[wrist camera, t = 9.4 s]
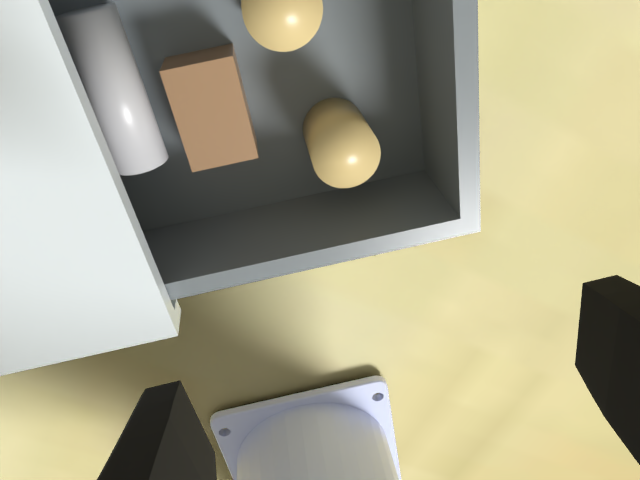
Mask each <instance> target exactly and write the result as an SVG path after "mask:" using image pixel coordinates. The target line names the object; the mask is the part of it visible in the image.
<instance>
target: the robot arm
mask: <svg viewBox="0 0 640 480" xmlns="http://www.w3.org/2000/svg"><path fill="white" fill-rule="evenodd" d="M575 366H576V368H577V369H578V371H579V373H580V375H581V377H582V379H583V380H584V382H585V384H586V386H587V388H588V390H589V391H590V393H591V395H592V397H593V398H594V400H595V402H596V403H597V405H598V407H599V408H600V410H601V412H602V414H603V415H604V417H605V418H606V420H607V421H608V422H609V424H610V425H611V427H612V428H613V429H614V431H615V432H616V434H617V435H618V436H619V438H620V439H621V440H622V442H623V443H624V444H625V446H626V447H627V448H628V450H629V451H630V453H631V454H632V455H633V457H634V458H635V459H636V461H637V462H638V463H639V465H640V286H638V285H636V284H634V283H632V282H630V281H628V280H626V279H624V278H622V277H620V276H618V275H615V276H610V277H606V278H602V279H598V280H594V281H590V282H586V283H583V287H582V298H581V308H580V319H579V329H578V339H577V350H576V360H575ZM376 393H379V394H376ZM210 427H211V429H212V431H213V434H214V436H215V438H216V441H217V443H218V445H219V448H220V450H221V453H222V455H223V457H224V460H225V462H226V464H227V467H228V469H229V471H230V474H231V476H232V478H233V480H401V474H400V468H399V461H398V454H397V447H396V441H395V434H394V427H393V420H392V414H391V407H390V400H389V393H388V387H387V383H386V380H385V378H383V377H382V376H378V375H377V376H370V377H366V378H362V379H357V380H353V381H349V382H344V383H340V384H335V385H331V386H327V387H322V388H318V389H314V390H309V391H305V392H300V393H296V394H292V395H287V396H283V397H279V398H274V399H270V400H266V401H261V402H257V403H252V404H248V405H244V406H239V407H235V408H231V409H226V410H222V411H218V412H216V413H214V414H213V415H212V416H211V418H210ZM223 428H227V429H223ZM97 480H217V478H216V462H215V452H214V450H213V448H212V446H211V444H210V442H209V440H208V437H207V435H206V433H205V431H204V429H203V427H202V425H201V423H200V421H199V419H198V417H197V415H196V412H195V410H194V408H193V406H192V404H191V402H190V400H189V398H188V396H187V394H186V392H185V390H184V387H183V385H182V383H181V381H176V382H172V383H168V384H164V385H160V386H155V387H151V388H147V389H145V391H144V392H143V394H142V395H141V397H140V399H139V401H138V403H137V405H136V407H135V409H134V411H133V413H132V415H131V417H130V419H129V420H128V422H127V424H126V426H125V428H124V430H123V432H122V434H121V436H120V438H119V440H118V442H117V444H116V445H115V447H114V449H113V451H112V453H111V455H110V457H109V459H108V461H107V462H106V464H105V466H104V468H103V470H102V472H101V473H100V475H99V477H98V479H97Z"/></svg>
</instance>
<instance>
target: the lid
mask: <svg viewBox="0 0 640 480" xmlns="http://www.w3.org/2000/svg"><path fill="white" fill-rule="evenodd" d="M180 316H181V308H180V306H179V303H178V301H177V299H175V300H170V298H169V295H168V293H167V290H166V288H165V285H164V283H163V281H162V278H161V276H160V273H159V271H158V268H157V266H156V263H155V261H154V258H153V256H152V254H151V251H150V249H149V246H148V244H147V241H146V239H145V236H144V234H143V231H142V229H141V227H140V224H139V222H138V219H137V217H136V214H135V212H134V209H133V207H132V204H131V202H130V200H129V197H128V195H127V192H126V190H125V187H124V185H123V182H122V180H121V178H120V175H119V173H118V170H117V168H116V165H115V163H114V160H113V158H112V155H111V153H110V151H109V148H108V146H107V143H106V141H105V138H104V136H103V133H102V131H101V128H100V126H99V124H98V121H97V119H96V116H95V114H94V111H93V109H92V106H91V104H90V102H89V99H88V97H87V94H86V92H85V89H84V87H83V84H82V82H81V79H80V77H79V75H78V72H77V70H76V67H75V65H74V62H73V60H72V57H71V55H70V52H69V50H68V48H67V45H66V43H65V40H64V38H63V35H62V33H61V30H60V28H59V25H58V23H57V21H56V18H55V16H54V13H53V11H52V8H51V6H50V3H49V1H48V0H0V376H2V375H7V374H11V373H16V372H20V371H25V370H29V369H33V368H38V367H42V366H47V365H51V364H56V363H60V362H65V361H69V360H74V359H78V358H82V357H87V356H91V355H96V354H100V353H105V352H109V351H114V350H118V349H122V348H127V347H131V346H136V345H140V344H145V343H149V342H154V341H158V340H163V339H167V338H171V337H176V336H178V333H179V325H180Z"/></svg>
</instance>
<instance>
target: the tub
mask: <svg viewBox="0 0 640 480" xmlns="http://www.w3.org/2000/svg"><path fill="white" fill-rule="evenodd" d="M48 1H49V3H50V6H51V8H52V11H53V13H54V16H55V18H56V21H57V23H58V25H59V28H60V30H61V33H62V35H63V38H64V40H65V43H66V45H67V48H68V50H69V52H70V55H71V57H72V60H73V62H74V65H75V67H76V70H77V72H78V75H79V77H80V79H81V82H82V84H83V87H84V89H85V92H86V94H87V97H88V99H89V102H90V104H91V106H92V109H93V111H94V114H95V116H96V119H97V121H98V124H99V126H100V128H101V131H102V133H103V136H104V138H105V141H106V143H107V146H108V148H109V151H110V153H111V155H112V158H113V160H114V163H115V165H116V168H117V170H118V173H119V175H120V178H121V180H122V182H123V185H124V187H125V190H126V192H127V195H128V197H129V200H130V202H131V204H132V207H133V209H134V212H135V214H136V217H137V219H138V222H139V224H140V227H141V229H142V231H143V234H144V236H145V239H146V241H147V244H148V246H149V249H150V251H151V254H152V256H153V258H154V261H155V263H156V266H157V268H158V271H159V273H160V276H161V278H162V281H163V283H164V285H165V288H166V290H167V293H168V295H169V298H170V300H175V299H179V298H184V297H188V296H193V295H197V294H202V293H206V292H211V291H215V290H220V289H224V288H229V287H233V286H238V285H242V284H247V283H251V282H256V281H260V280H265V279H269V278H274V277H278V276H283V275H287V274H292V273H296V272H301V271H305V270H310V269H314V268H319V267H323V266H328V265H332V264H337V263H341V262H346V261H350V260H355V259H359V258H364V257H368V256H373V255H377V254H382V253H386V252H391V251H395V250H400V249H404V248H409V247H413V246H418V245H422V244H427V243H431V242H436V241H440V240H445V239H449V238H453V237H458V236H462V235H467V234H471V233H476V232H480V231H481V228H480V150H479V73H478V0H48Z"/></svg>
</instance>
